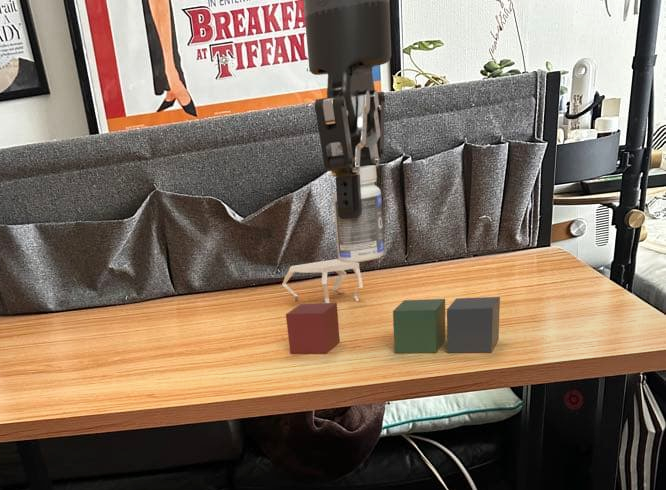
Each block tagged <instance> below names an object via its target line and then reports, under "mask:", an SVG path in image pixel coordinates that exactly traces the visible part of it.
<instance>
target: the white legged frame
mask: <svg viewBox="0 0 666 490" xmlns="http://www.w3.org/2000/svg"><path fill="white" fill-rule="evenodd" d="M360 269H361V268H360V262H353V263H346V262H342V261H340V260H339V258H335V259H327V260H322V261H316V262H315V261H314V262H309V263H303V264H297V265H290V267H289V270H288V272H287V273H286V275H285V276H284V279H283V281H282V283H281V285H282V286H283V287H284V288H285V289H286V290H287V291H288V292H289V293H291V295H292V296H293V297H294V301H299V295H298V294H297V293H296V292H295V291H294V290H293V289H292V288H291V287H290V286H289V285H288V284H287V283H288V281H289V280H290V279H291V277H292V276H293V275H294V273H302V274H304V273H305V274H306V273H307V274H311V273H312V274H313V273H321V283H320V284H321V288H322V294H323V297H324V298H323V299H324V303H330V296H329V289H328V273H332V272H335V273H336V274H337V275H338V277H337V279H336V281H335V283H334V285H333V286H332V289H331V292H333V293H336V294H338V295H341V294H345V292H343V291H342V290H339V289H338V288H339V287H340V285H341V283H342V282H343V280H344V279H345V277H346V276H347V275H348V274H347V272H346V271H348V270H353V272H354V274H355V276H356V278H357V281H358V286H359V288H358V289H357V290H356V291H355V292H353V294H352V296H353V298H354V300H355V302H359V301H360V299H359V298H358V296H357V294H359V292H360V291H361V290H363V289H364V285H363V277H362V273H361V270H360Z"/></svg>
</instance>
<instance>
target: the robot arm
mask: <svg viewBox="0 0 666 490" xmlns="http://www.w3.org/2000/svg"><path fill="white" fill-rule="evenodd" d="M390 9H391V8H390V0H303V11H304V22H305V23H304V24H305V35H306V46H307V47H306V48H307V58H308V59H307V60H308V70H309V73H311V74H312V75H315V76H321V75H322V76H323V75H327V85H326V87H327V88H326V97H324V98H317V99H315V100H314V101H315V102H314V110H315V116H316V123H317V129H318V136H319V142H320V147H321V153H322V154H321V155H322V159H323V166H324V170H325V171H326V172H331V175H332V177H333V178H335V191H336V193H337V205H338V216H339V217H340V218H341V219H349V218H357V217H359V216H360V215H361V213H362V205H361V187H360V174H359V171H360V167H362V166H370V165H375V166H376V168H379V165H380V159H383V158H384V155H385V112H386V109H385V108H386V95H385V92H384V91H378V90H377V89H375V83H374V76H373V73H372V72H373V67H377V66H382V65H385V64H387V63H388V62H389V61H390V60H391V58H392V39H391V37H392V36H391V35H392V33H391V11H390ZM355 174H358V175H355ZM376 180H377V181H376V182H375V186H377V187H378V177H377V178H376Z"/></svg>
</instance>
